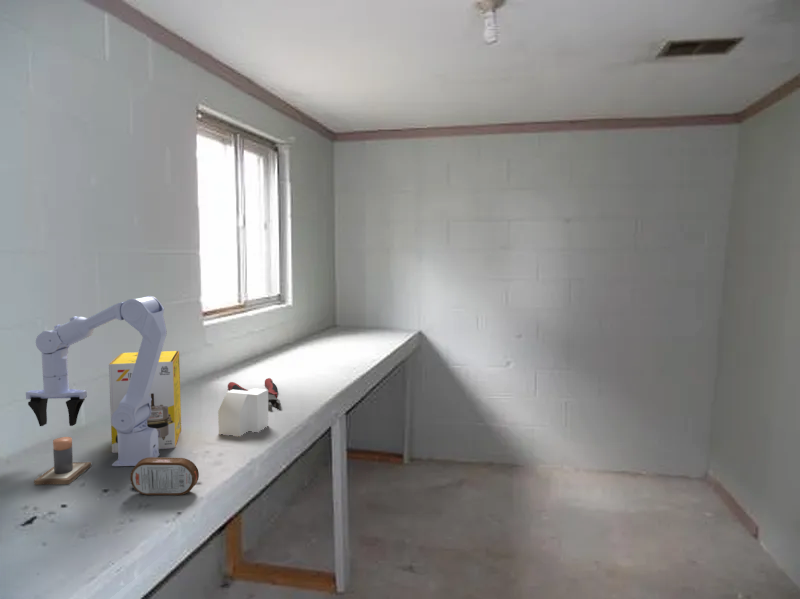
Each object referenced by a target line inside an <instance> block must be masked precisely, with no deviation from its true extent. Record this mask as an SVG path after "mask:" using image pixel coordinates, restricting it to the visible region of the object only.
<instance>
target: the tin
mask: <svg viewBox="0 0 800 599" xmlns="http://www.w3.org/2000/svg"><path fill="white" fill-rule="evenodd" d="M199 477H200V473H199V469H198V468H197V465H196V463H194V462H193V461H192V460H190V459H188V458H185V457H159V456H158V457H148V458H144V459H142V460H140V461H139V462H138V463H137V464H136V466H133V468H132V469H131V471H130V476H129V480H130V484H131V486H132V488H133V489H134V490H135V491H137V492H138V493H139V494H141V495H145V496H146V495H147V496H183V495H186V494H187V493H189V492H191V491H192V490H193V488H194V487H195V486H196V485H197V483H198V481H199Z"/></svg>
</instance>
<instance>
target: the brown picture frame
mask: <svg viewBox="0 0 800 599" xmlns="http://www.w3.org/2000/svg"><path fill="white" fill-rule="evenodd" d="M90 466H91V467H92V462H90V461H88V462H87V461H86V462H85V461H84V462H83V461H81V462H79V461H78V462H77V461H76V462H73V470H72V471H71V472H68V473H65V474H55V473H54V466H52V467H51V468H50V469H48V470H47V471H45V472H44V473H43V474H41V475H40V476H39V477H37V478H36V479H34V480H33V481H34V482H33V483H34V486H35V485H36V486H37V485H38V486H39V485H40V486H42V485H44V486H45V485H70V484H72V482H74V481H75V480H76V479H78V478H79V477H80V476H79V475H80V474H81V475H82V474H83V473H85V472H86V471H88V469H89V468H91V467H90ZM85 470H86V471H85Z"/></svg>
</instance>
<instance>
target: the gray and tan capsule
mask: <svg viewBox="0 0 800 599" xmlns="http://www.w3.org/2000/svg"><path fill="white" fill-rule="evenodd" d="M52 450H53V451H52V452H53V454H52V455H53V467H54V473H55V474H65V473H68V472H71V471H72V470H73V438H72V437H71V436H62V437H61V436H60V437H56V438H54V439H53V440H52Z"/></svg>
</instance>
